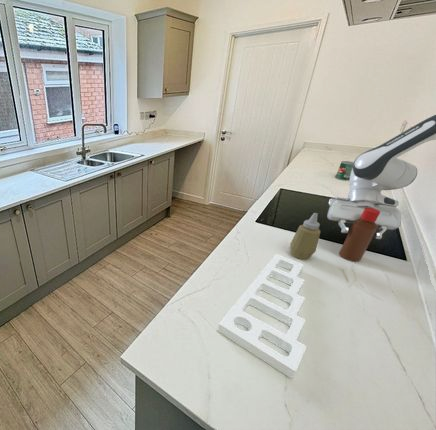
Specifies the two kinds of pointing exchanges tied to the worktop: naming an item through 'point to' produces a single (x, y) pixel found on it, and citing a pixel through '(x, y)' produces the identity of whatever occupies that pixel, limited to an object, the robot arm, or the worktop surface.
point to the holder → (262, 329)
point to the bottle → (358, 240)
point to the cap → (370, 214)
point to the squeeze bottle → (306, 239)
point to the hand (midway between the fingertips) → (360, 235)
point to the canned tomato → (344, 170)
